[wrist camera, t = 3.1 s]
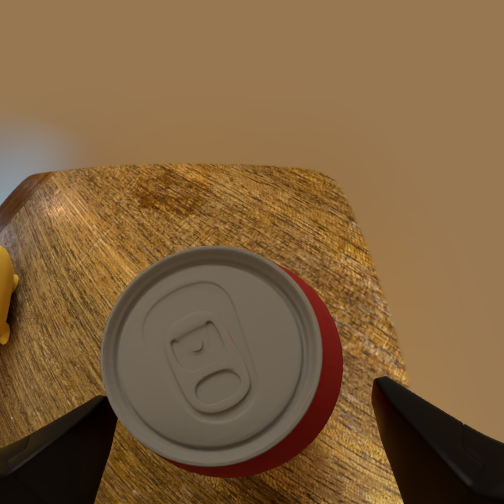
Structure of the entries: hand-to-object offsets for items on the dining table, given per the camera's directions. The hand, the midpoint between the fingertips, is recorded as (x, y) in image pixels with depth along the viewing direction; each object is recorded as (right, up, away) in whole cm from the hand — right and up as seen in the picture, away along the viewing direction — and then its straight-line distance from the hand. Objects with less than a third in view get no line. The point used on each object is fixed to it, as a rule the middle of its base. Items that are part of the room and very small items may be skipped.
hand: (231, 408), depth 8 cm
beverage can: (+1, -3, +8) cm, 9 cm away
